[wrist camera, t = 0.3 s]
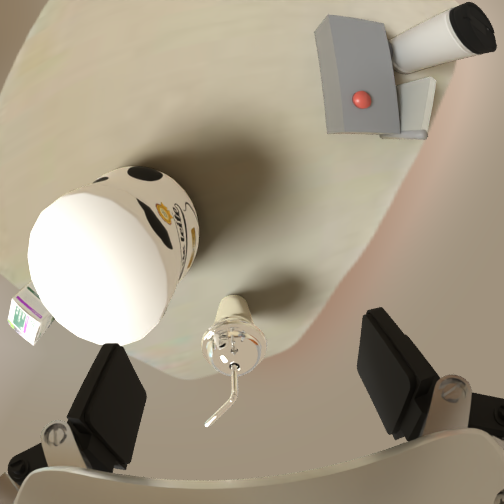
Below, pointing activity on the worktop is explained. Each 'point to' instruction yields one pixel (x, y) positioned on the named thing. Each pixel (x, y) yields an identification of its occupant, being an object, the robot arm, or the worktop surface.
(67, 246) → the milk container
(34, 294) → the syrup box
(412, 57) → the travel mug
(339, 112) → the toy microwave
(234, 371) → the cup with straw
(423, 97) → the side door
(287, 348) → the worktop surface
